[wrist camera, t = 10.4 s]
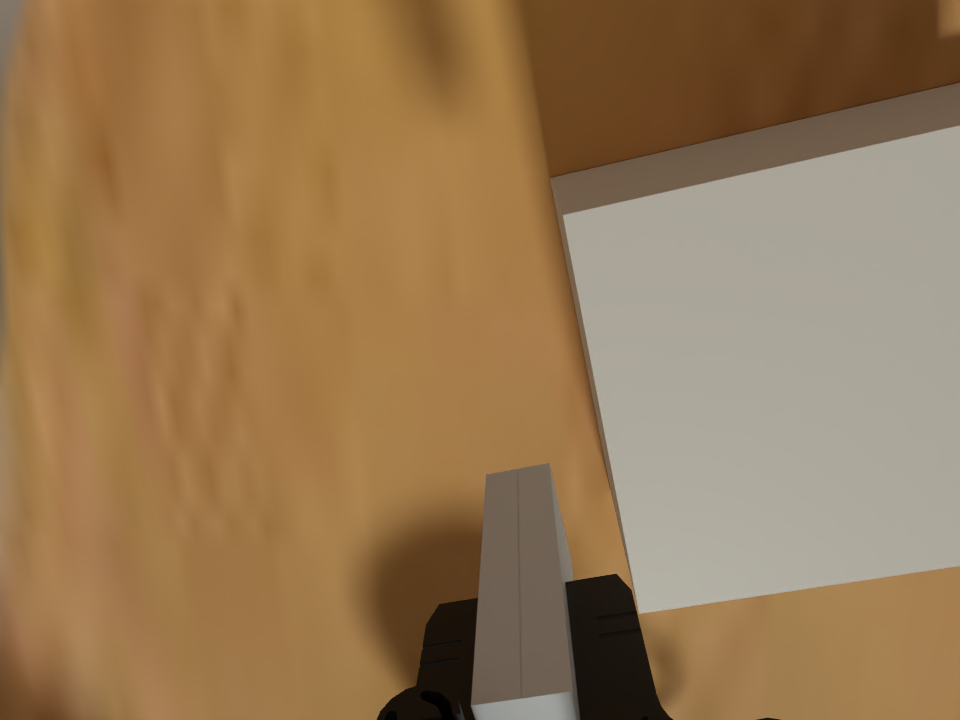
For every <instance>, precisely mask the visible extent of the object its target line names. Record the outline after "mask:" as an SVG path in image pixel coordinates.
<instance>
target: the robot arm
mask: <svg viewBox="0 0 960 720" xmlns="http://www.w3.org/2000/svg"><path fill="white" fill-rule="evenodd" d="M377 720H673V719H672V718H670V717H669V716H668V715H667V713H666V712H665V711H664V709H663V708H662V707H661V705H660V702H659V700H658V697H657V694H656V690H655V686H654V682H653V678H652V673H651V669H650V665H649V661H648V657H647V653H646V649H645V644H644V640H643V636H642V632H641V628H640V624H639V619H638V615H637V611H636V607H635V603H634V599H633V595H632V590H631V589H630V588H629V587H628V586H627V585H626V584H625V583H624V582H623V581H622V579H621V578H620V577H619V576H618V575H617V574H612V575H606V576H600V577H593V578H587V579H581V580H575V581H574V578H573V571H572V563H571V557H570V552H569V548H568V544H567V539H566V535H565V530H564V526H563V521H562V517H561V512H560V508H559V504H558V499H557V495H556V490H555V486H554V481H553V477H552V473H551V468H550V464H549V463H547V464H542V465H536V466H531V467H526V468H520V469H515V470H509V471H504V472H498V473H493V474H487V475H486V486H485V501H484V516H483V531H482V546H481V561H480V576H479V592H478V598H475V599H469V600H462V601H456V602H450V603H444V604H439V606H438V607H437V609H436V610H435V612H434V613H433V615H432V616H431V618H430V619H429V621H428V623H427V624H426V629H425V635H424V642H423V650H422V654H421V660H420V668H419V673H418V679H417V685H416V686H415V687H412V688H408V689H406V690H404V691H403V692H401V693H400V694H398V695H396V696H395V697H393V698H392V699H391V700H390V701H389V702H388V703H387V704H386V706H385V707H384V708H383V709H382V710H381V711H380V713H379V716H378V718H377ZM758 720H779V719H772V718H764V719H758Z"/></svg>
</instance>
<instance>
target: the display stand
mask: <svg viewBox="0 0 960 720" xmlns="http://www.w3.org/2000/svg"><path fill="white" fill-rule="evenodd" d="M550 182H551V187H552V192H553V198H554V203H555V208H556V213H557V218H558V223H559V228H560V234H561V239H562V244H563V249H564V254H565V259H566V264H567V270H568V275H569V280H570V285H571V290H572V295H573V300H574V305H575V311H576V316H577V321H578V326H579V331H580V336H581V341H582V347H583V352H584V357H585V362H586V367H587V372H588V377H589V383H590V388H591V393H592V398H593V403H594V408H595V413H596V418H597V424H598V429H599V434H600V439H601V444H602V449H603V454H604V460H605V465H606V470H607V475H608V480H609V485H610V490H611V495H612V499H613V503H614V508H615V512H616V516H617V520H618V525H619V529H620V533H621V538H622V542H623V546H624V551H625V555H626V559H627V564H628V568H629V572H630V576H631V581H632V585H633V589H634V594H635V598H636V602H637V607H638V611H639V614H641V613H648V612H654V611H661V610H668V609H674V608H681V607H688V606H695V605H701V604H708V603H715V602H721V601H728V600H735V599H741V598H748V597H755V596H761V595H768V594H775V593H782V592H788V591H795V590H802V589H808V588H815V587H822V586H828V585H835V584H842V583H849V582H855V581H862V580H869V579H875V578H882V577H889V576H895V575H902V574H909V573H915V572H922V571H929V570H936V569H942V568H949V567H956V566H960V83H956V84H951V85H947V86H943V87H938V88H934V89H930V90H926V91H921V92H917V93H913V94H909V95H904V96H900V97H896V98H891V99H887V100H883V101H879V102H874V103H870V104H866V105H861V106H857V107H853V108H849V109H844V110H840V111H836V112H831V113H827V114H823V115H819V116H814V117H810V118H806V119H801V120H797V121H793V122H789V123H784V124H780V125H776V126H771V127H767V128H763V129H759V130H754V131H750V132H746V133H741V134H737V135H733V136H729V137H724V138H720V139H716V140H712V141H707V142H703V143H699V144H694V145H690V146H686V147H682V148H677V149H673V150H669V151H664V152H660V153H656V154H652V155H647V156H643V157H639V158H634V159H630V160H626V161H622V162H617V163H613V164H609V165H604V166H600V167H596V168H592V169H587V170H583V171H579V172H574V173H570V174H566V175H562V176H557V177H553V178H550Z"/></svg>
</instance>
